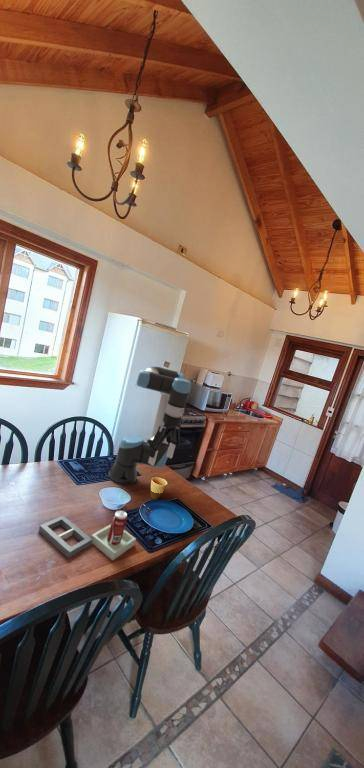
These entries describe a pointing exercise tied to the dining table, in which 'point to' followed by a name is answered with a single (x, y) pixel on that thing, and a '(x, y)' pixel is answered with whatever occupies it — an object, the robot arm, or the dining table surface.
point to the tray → (111, 551)
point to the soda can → (117, 528)
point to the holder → (65, 536)
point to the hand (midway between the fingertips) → (160, 460)
